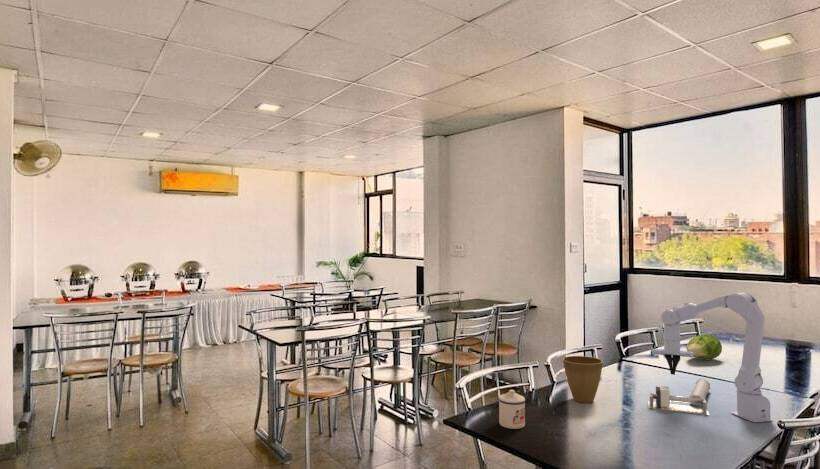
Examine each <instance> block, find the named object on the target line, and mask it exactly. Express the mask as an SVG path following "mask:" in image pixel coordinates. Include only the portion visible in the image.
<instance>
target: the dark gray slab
mask: <svg viewBox="0 0 820 469" xmlns="http://www.w3.org/2000/svg"><path fill="white" fill-rule="evenodd" d="M655 394H657V399H655V402H656V404H657V407H661V391H660V388H659V386H655Z"/></svg>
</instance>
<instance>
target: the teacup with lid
mask: <svg viewBox="0 0 820 469" xmlns="http://www.w3.org/2000/svg"><path fill="white" fill-rule="evenodd" d="M498 405H499V406H498V410H499V411H498V412H499V413H498V414H499V415H498V416H499V421H498V422H499V425H500V426H501V427H502V428H506V429H513V430H514V429H515V430H517V429H522V428H524V427H525V426H526V407H525V406H526V398H525V396H523V395H520V394H519V393H516V390H514V389H509V390H508V392H505V393H503V394H500V395H499V396H498Z"/></svg>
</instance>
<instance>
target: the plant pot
mask: <svg viewBox="0 0 820 469" xmlns="http://www.w3.org/2000/svg"><path fill="white" fill-rule="evenodd" d="M562 362H563V367H564V372H565V377H566V380H567V384H568V387H569V391H570V394H571V396H572V398H573V400H574V401H575V402H578V403H585V404H590V403H592V402H594V400H595V398H596V395H597V392H598V390H599V385H600V381H601V377H602V370H603V362H604V361H603V360H602V359H600V358H596V357H594V356H593V357H592V356H586V355H570V356H569V355H568V356H565V357H562Z"/></svg>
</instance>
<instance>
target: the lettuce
mask: <svg viewBox="0 0 820 469" xmlns="http://www.w3.org/2000/svg"><path fill="white" fill-rule="evenodd" d="M686 351H688V352H693V358H695V359H700V360H702V361H703V360H704V361H706V360H712V359H716V358H718V357H719V356H720V355H721V353H722V351H723V346H722V343H721V341H720V340H719V339H718V337H716V336H714V335H712V334H709V333H703V334H698V335H697V336H694V337H692V338H691V339H690V340H689V341H688V342H687V343H686Z"/></svg>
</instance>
